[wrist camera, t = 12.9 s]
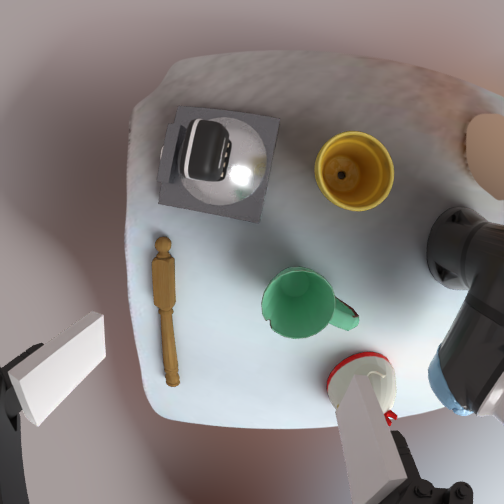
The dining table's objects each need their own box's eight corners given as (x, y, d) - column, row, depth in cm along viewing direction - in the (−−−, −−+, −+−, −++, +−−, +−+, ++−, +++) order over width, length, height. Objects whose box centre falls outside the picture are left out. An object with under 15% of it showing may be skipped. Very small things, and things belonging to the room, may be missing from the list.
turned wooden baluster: (163, 386, 49) (151, 237, 43) (168, 377, 52) (158, 235, 46) (177, 389, 49) (168, 238, 43) (182, 380, 52) (174, 236, 46)
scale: (279, 123, 40) (279, 114, 35) (259, 221, 44) (257, 224, 39) (181, 110, 41) (170, 102, 36) (162, 202, 44) (149, 203, 40)
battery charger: (229, 185, 38) (210, 182, 27) (204, 181, 39) (175, 177, 27) (239, 138, 37) (223, 117, 26) (213, 134, 37) (189, 113, 26)
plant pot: (352, 219, 42) (371, 227, 33) (296, 186, 42) (302, 183, 32) (381, 166, 40) (406, 159, 30) (327, 131, 40) (340, 114, 30)
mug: (256, 297, 46) (250, 324, 36) (278, 244, 44) (278, 258, 34) (333, 327, 46) (345, 357, 36) (359, 277, 44) (378, 298, 34)
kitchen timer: (328, 356, 47) (342, 410, 33) (395, 346, 46) (426, 392, 31) (325, 408, 50) (333, 461, 36) (386, 398, 49) (406, 446, 34)
